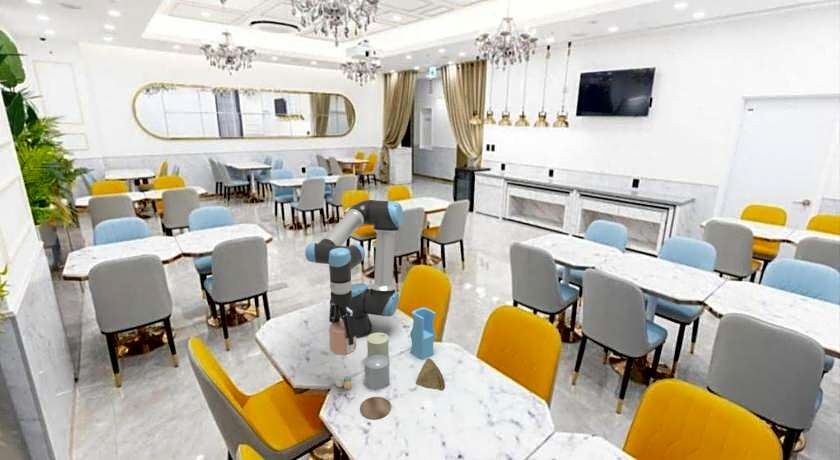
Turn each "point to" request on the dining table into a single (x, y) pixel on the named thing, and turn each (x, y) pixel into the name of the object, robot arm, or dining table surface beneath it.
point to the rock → (430, 376)
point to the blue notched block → (422, 333)
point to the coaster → (375, 408)
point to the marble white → (339, 383)
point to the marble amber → (347, 385)
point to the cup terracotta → (339, 338)
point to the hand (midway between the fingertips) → (343, 345)
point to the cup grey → (377, 372)
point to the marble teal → (347, 378)
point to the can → (378, 344)
